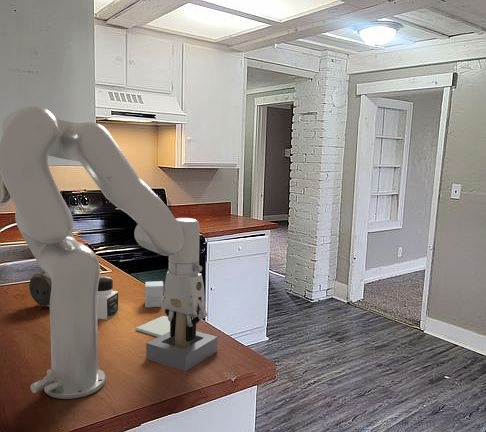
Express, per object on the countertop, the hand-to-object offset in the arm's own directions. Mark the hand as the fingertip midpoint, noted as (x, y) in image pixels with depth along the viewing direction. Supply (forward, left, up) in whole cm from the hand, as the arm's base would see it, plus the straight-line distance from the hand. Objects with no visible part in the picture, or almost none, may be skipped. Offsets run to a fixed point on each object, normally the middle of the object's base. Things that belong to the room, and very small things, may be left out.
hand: (182, 336), depth 114 cm
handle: (0, 0, -5) cm, 5 cm away
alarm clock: (+2, +58, -5) cm, 58 cm away
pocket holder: (0, 0, -5) cm, 5 cm away
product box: (+25, +32, -5) cm, 41 cm away
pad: (+11, +15, -5) cm, 19 cm away
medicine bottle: (+8, +38, -5) cm, 39 cm away
